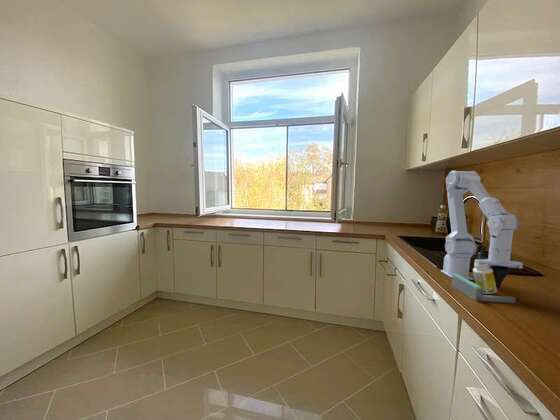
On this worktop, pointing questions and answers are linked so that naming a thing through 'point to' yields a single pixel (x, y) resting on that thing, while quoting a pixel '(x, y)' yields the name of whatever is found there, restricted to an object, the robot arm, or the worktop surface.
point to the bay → (476, 291)
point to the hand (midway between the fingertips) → (495, 286)
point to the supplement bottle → (485, 278)
